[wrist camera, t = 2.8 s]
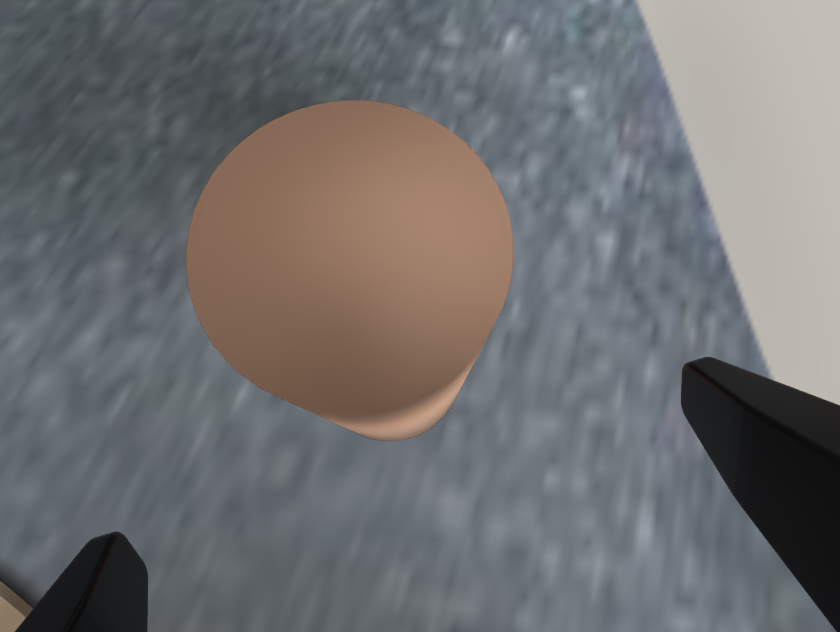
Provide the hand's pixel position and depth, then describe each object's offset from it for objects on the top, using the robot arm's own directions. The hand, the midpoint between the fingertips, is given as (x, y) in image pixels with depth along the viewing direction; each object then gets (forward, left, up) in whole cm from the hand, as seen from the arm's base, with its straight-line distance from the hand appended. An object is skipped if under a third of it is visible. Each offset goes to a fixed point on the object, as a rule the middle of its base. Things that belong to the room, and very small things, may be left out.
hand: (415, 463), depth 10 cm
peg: (+3, -1, -10) cm, 11 cm away
